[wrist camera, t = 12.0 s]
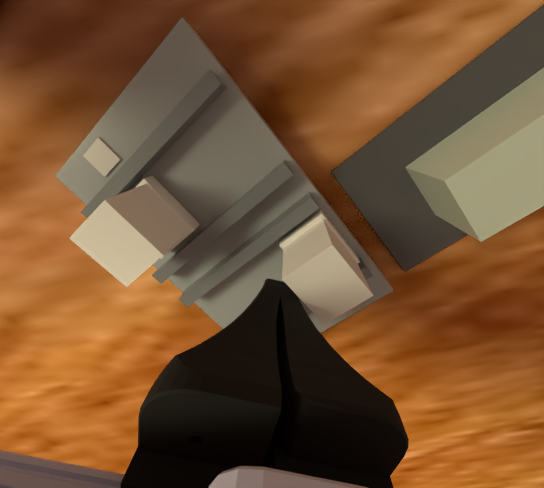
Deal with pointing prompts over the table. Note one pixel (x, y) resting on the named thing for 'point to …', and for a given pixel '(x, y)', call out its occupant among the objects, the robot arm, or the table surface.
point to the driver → (489, 165)
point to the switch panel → (207, 178)
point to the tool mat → (425, 135)
